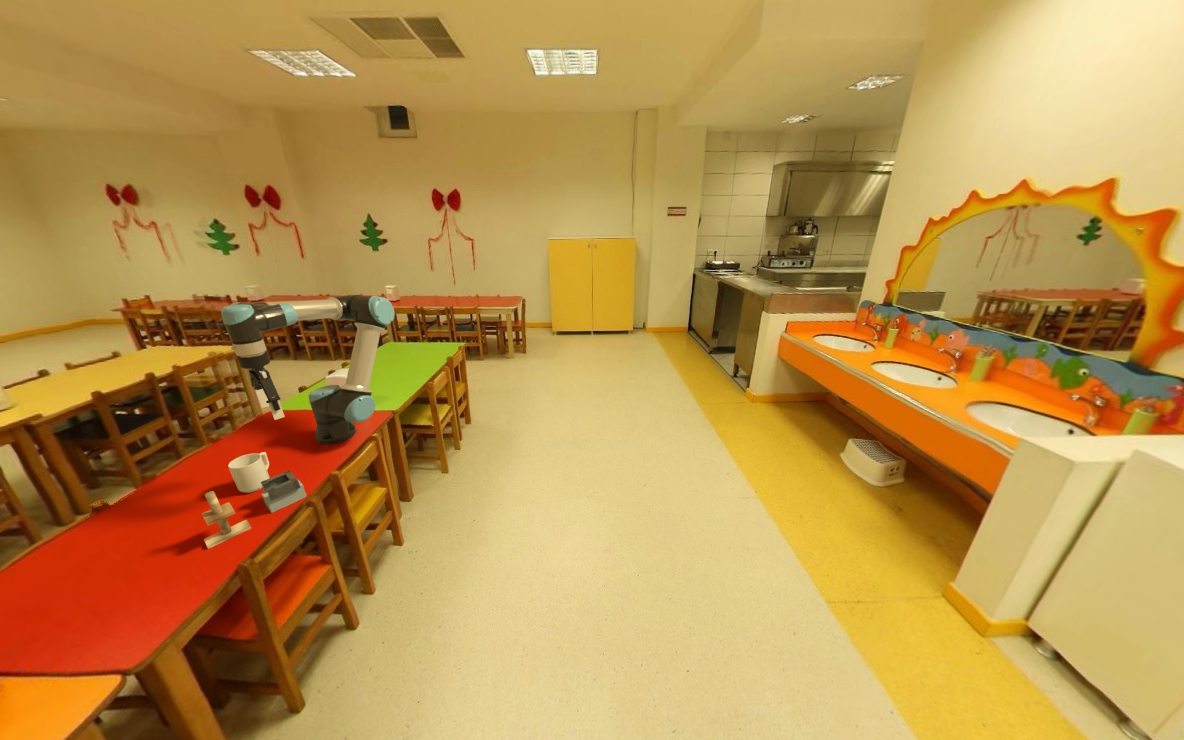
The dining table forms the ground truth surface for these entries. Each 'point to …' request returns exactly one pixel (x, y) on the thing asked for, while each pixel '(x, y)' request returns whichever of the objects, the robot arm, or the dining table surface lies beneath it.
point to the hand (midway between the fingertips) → (272, 412)
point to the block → (284, 499)
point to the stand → (221, 521)
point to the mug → (249, 471)
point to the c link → (280, 485)
